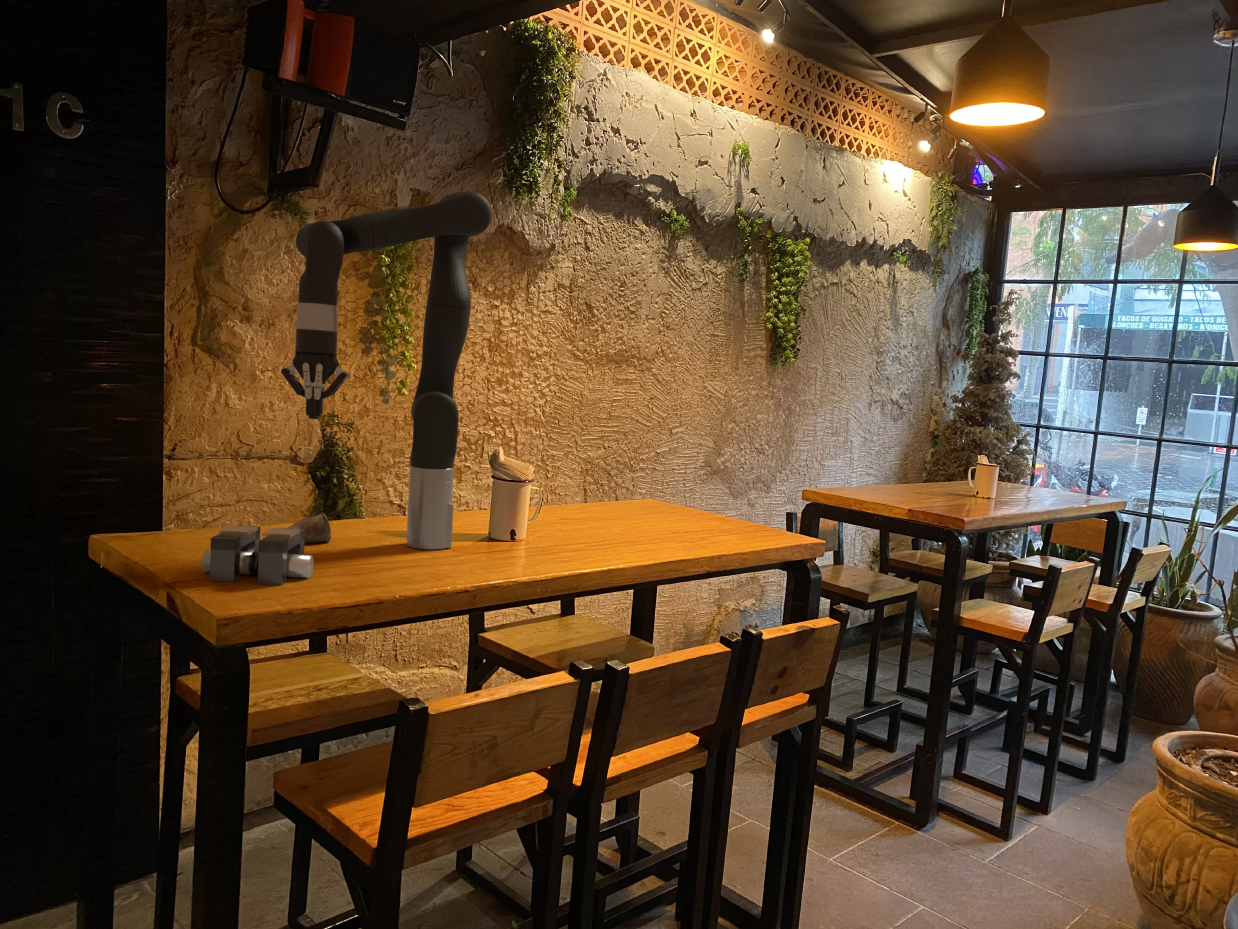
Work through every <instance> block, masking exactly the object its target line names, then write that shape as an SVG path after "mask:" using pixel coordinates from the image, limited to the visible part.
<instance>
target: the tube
mask: <svg viewBox="0 0 1238 929" xmlns="http://www.w3.org/2000/svg"><path fill="white" fill-rule="evenodd" d="M210 551H211V548H210V549H209V548H206V550H204V552H203V554H202V556H201V557H202V559H201V568H202V571H203V573H210ZM258 562H259V552H245V551H240V575H246V576H247V575H248V576H249V575H252V576H258ZM314 564H315V562H314V556H313V555H310V554H309V555H308V554H304V555H296V554H287V578H303V579H310V578H311V577H312V575H313V572H314Z"/></svg>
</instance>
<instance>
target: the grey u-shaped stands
mask: <svg viewBox="0 0 1238 929" xmlns="http://www.w3.org/2000/svg"><path fill="white" fill-rule="evenodd" d="M261 537H263V538H261ZM304 542H305V529H292V528H288V527H281V528H279V527H271V528H270V529H269V528H268V529H266V530H265V531H263V532H262V533H261V526H260V525H259V526H254V525H238V524H237V525H228V526H226V527H224V528H222V529H219V530H218V534H216V535H214V536H211V537H210V549H211V551H210V572H209V582H217V583H233V584H234V583H236V582H237V581H239V580H240V575H241V574H240V551H245V552H259V562H258V575H257V584H258V585H266V586H267V585H268V586H269V585H271V586H272V585H273V586H283V585H284V584H285V583H287V582H288V580H287V578H288V577H287V554H296V555H305V544H304Z"/></svg>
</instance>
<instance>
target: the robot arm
mask: <svg viewBox="0 0 1238 929" xmlns="http://www.w3.org/2000/svg"><path fill="white" fill-rule="evenodd" d="M492 218H493V213H492V207H491V205H490V203H489V201H488V200H487V199H486V197H484V196H483V195H482V194H480V193H478V192H475V191H470V190H464V191H463V190H462V191H457V192H453V193H449V194H447V195H445V196H444V197H442V198H441V199H440V200H439V202H436V203H432V204H427V205H422V206H414V207H407V208H406V207H405V208H396V209H388V210H386V209H385V210H381V211H380V210H379V211H373V212H368V213H363V214H362V213H361V214H358V215H357V214H356V215H353V216H351V217H347V218H344V219H337V220H330V221H329V220H318V221H315V222H312V223H308V224H305V225H304V226H302V227H301V228H300V229H299V230H298V232H297V234H296V237H295V244H296V248H297V250H298V252H299V254H301V255H302V256H303V257H304V258H305V269H304V271H303V273H302V274H301V275H300V277H299V281H298V282H299V283H298V300H297V302H298V304H297V310H296V320H295V350H294V351H295V353H294V354H295V355H294V357H293V359H292V362H291V364H290V365H288V366H286V367H283V368H281V369H280V373H281V375H282V376H283V378H285V380H286V381H287V382H288V384H289V386H290V387H291V388H292V389H293V391H294V393H295V394H296V395H297V396H301V397H303V398H305V414H306V416H307V417H308V419H310V420H319V419H320V417H322V416H323V411H324V400H325V399H327V398H330V397H333V396H334V395H335V394H336V393H337V392H338V390H339V389H340V388H341V387H342V386H343V384H345V382H346V381H347V380H348V378H350V373H349V372H347V371H344V370H343V368H341V367H340V363H339V361H338V357H337V355H338V350H337V349H338V327H339V326H338V325H339V323H338V322H339V316H338V282H339V278H340V274H341V270H342V265H343V260H344V256H345V255H348V254H352V253H364V252H365V253H366V252H371V251H372V252H373V251H377V250H381V249H388V248H391V247H395V246H398V245H399V246H401V245H404V244H408V243H410V242H416V241H420V240H423V239H428V238H434V243H433V244H434V246H433V257H432V258H433V260H432V265H431V272H430V279H429V289H428V293H427V294H428V295H427V298H426V306H425V313H424V321H423V333H422V343H421V344H422V345H421V346H422V348H421V349H422V352H421V353H422V354H421V367H420V373H419V377H418V381H417V382H418V383H417V385H416V391H415V395H414V398H413V401H412V405H411V410H410V411H411V412H410V413H411V419H412V421H413V425H412V426H413V427H412V429H413V431H412V443H411V451H410V455H409V457H410V460H409V475H408V476H409V479H408V480H409V482H408V484H409V485H408V502H407V523H406V525H407V526H406V527H407V528H406V546H407V547H408V548H413V549H419V550H443V549H451V548H452V544H453V543H452V542H453V540H452V539H453V524H454V503H453V493H454V476H455V474H454V472H455V471H454V470H455V458H456V456H457V455H456V454H457V451H458V450H457V447H458V436H459V435H458V433H459V417H460V416H459V408H458V406H457V404H456V402H455V401H454V385H455V375H456V370H457V366H458V364H459V363H458V362H459V360H460V357H461V355H462V352H463V348H464V345H465V342H466V338H467V334H468V330H469V325H470V324H469V323H470V317H471V309H472V296H471V291H470V286H469V281H468V276H467V270H466V260H467V259H466V258H467V252H468V247H469V246H468V245H469V242H470V239H471V237H477V236H478V235H481V234H482V233H484V232H485V231H486V230H487V229H488V228H489V226H490V225H491V221H492ZM297 373H298V374H299V375H300V377H301V379H302V380H303V384H302V383H301V382H300V380H299V379H298V378H297ZM333 375H334V380H333V381H332V383H330V385H329V386H328V387H327V381H329V380H330V378H331V377H332V376H333ZM326 387H327V388H326Z"/></svg>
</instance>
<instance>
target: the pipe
mask: <svg viewBox="0 0 1238 929" xmlns="http://www.w3.org/2000/svg"><path fill="white" fill-rule="evenodd" d="M330 525H331V524H330V521H329V519H328V517H327V515H326V514H325V513H324V512H321V513H319V514H316V515H314V516H310V517H307V518H303V519H301V520H299V521H297V522H295V523H292V524H291V525H290V526H288V527H287V528H292V529H305V542H304V545H305V544H306V545H307V544H310V545H311V544H318V543H330V541H331V539H332V531H331V526H330Z"/></svg>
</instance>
